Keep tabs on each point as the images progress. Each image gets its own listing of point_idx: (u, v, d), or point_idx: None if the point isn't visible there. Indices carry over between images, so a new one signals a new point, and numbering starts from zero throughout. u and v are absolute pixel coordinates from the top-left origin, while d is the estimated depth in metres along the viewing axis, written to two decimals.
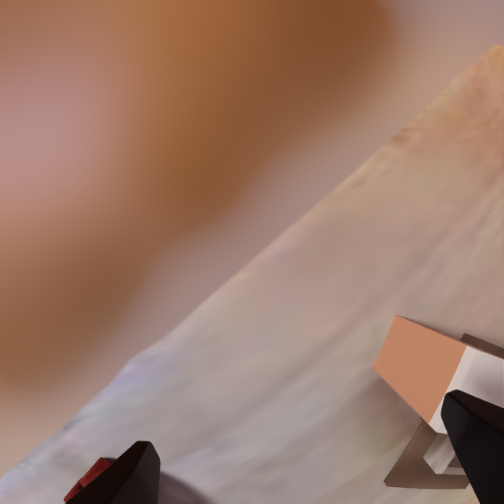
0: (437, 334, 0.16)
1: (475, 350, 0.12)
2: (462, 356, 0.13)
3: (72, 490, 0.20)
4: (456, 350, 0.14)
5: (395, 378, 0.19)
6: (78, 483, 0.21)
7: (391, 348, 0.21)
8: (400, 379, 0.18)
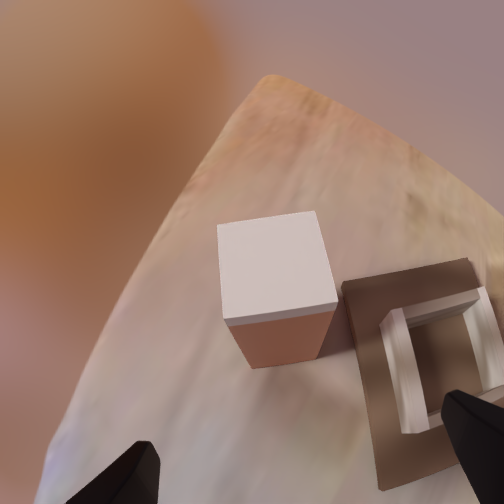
0: None
1: None
2: None
3: None
4: None
5: None
6: None
7: None
8: None
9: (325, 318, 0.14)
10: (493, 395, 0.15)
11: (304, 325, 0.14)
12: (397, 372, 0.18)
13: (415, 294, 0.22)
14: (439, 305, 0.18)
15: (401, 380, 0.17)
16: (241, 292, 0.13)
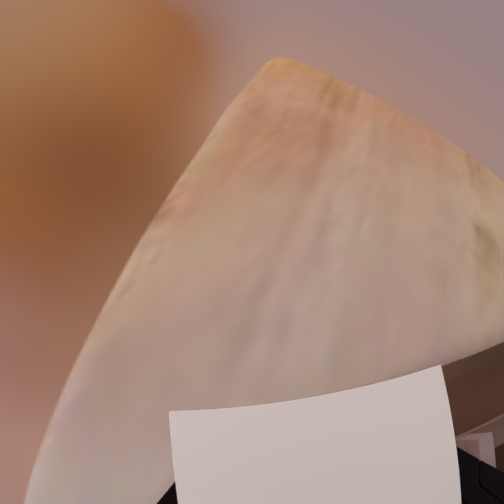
0: None
1: (172, 415, 0.05)
2: None
3: None
4: None
5: None
6: None
7: None
8: None
9: None
10: None
11: None
12: None
13: (495, 385, 0.12)
14: None
15: None
16: None
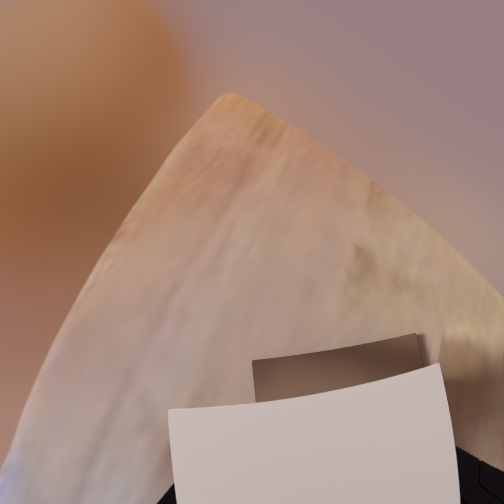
0: None
1: (171, 413, 0.05)
2: None
3: None
4: None
5: None
6: None
7: None
8: None
9: None
10: None
11: None
12: None
13: (337, 379, 0.20)
14: None
15: None
16: None
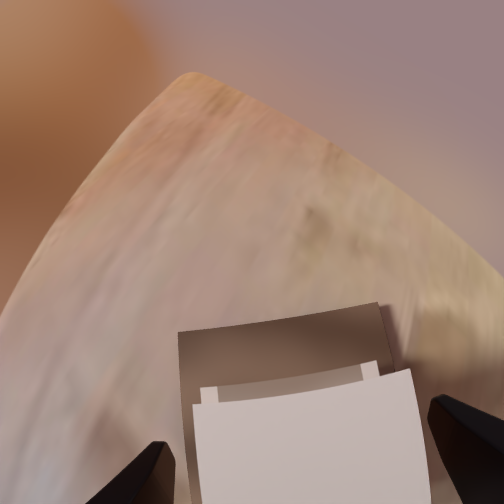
0: None
1: None
2: None
3: None
4: None
5: None
6: None
7: None
8: None
9: None
10: None
11: None
12: None
13: (277, 356, 0.17)
14: (281, 389, 0.13)
15: None
16: None
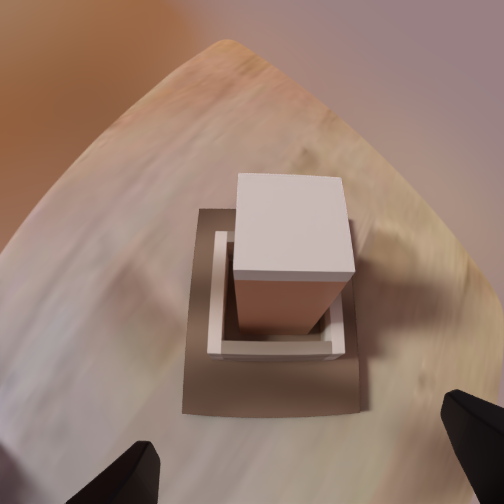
0: None
1: None
2: None
3: None
4: None
5: None
6: None
7: None
8: None
9: (335, 289, 0.13)
10: (311, 347, 0.18)
11: (312, 292, 0.14)
12: None
13: None
14: None
15: None
16: (256, 245, 0.12)
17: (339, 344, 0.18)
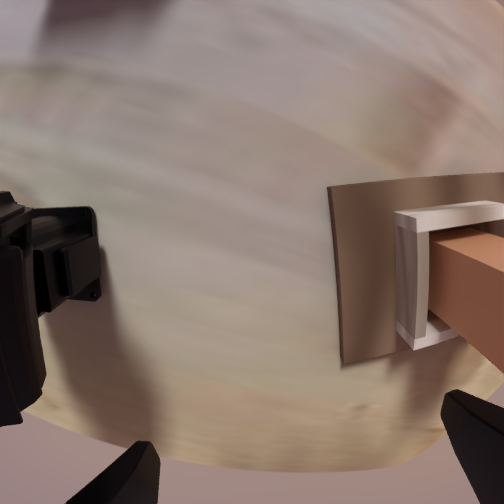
0: None
1: None
2: None
3: None
4: None
5: (463, 248, 0.15)
6: None
7: (459, 236, 0.17)
8: (474, 251, 0.14)
9: (498, 362, 0.11)
10: (421, 319, 0.17)
11: (497, 341, 0.11)
12: (459, 207, 0.17)
13: None
14: None
15: (455, 209, 0.16)
16: None
17: (422, 344, 0.17)
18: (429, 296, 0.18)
